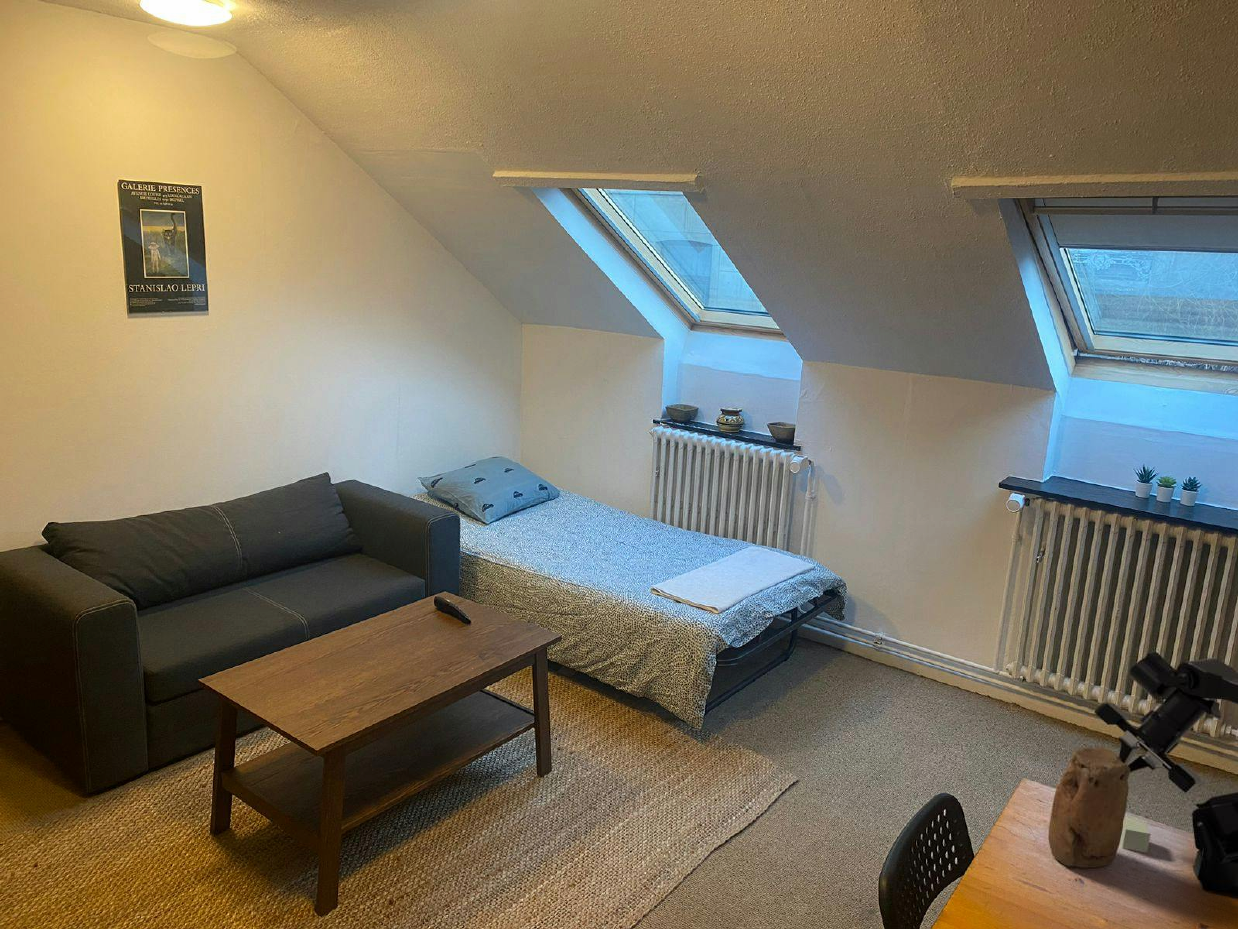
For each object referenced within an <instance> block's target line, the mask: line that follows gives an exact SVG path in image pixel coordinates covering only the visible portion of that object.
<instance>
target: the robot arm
mask: <svg viewBox="0 0 1238 929" xmlns="http://www.w3.org/2000/svg"><path fill="white" fill-rule="evenodd" d="M1129 677H1130V678H1131V679H1132V680H1133V681H1134V682H1136V684H1138V685H1139V686H1140V688H1142V689H1143V690H1144V691H1145V692H1146V693H1147V694H1148V695H1149V696H1151V698H1153V699H1154V700H1163V702H1162V703H1160V705H1158V707H1157V708H1156V709H1155V710H1154V709H1151V710H1150V711H1148V712H1147V713H1146V714H1144V716H1142V717H1141V718H1140V719H1139V722H1140V725H1139V726H1138V728H1136V727H1135V726H1133V724H1131V723H1130V722H1129V719H1130V715H1128V714H1127V712H1125V711H1124V710H1123V709H1122V708H1120V707H1119V706H1118V705H1116V703H1113V702H1111V703H1110V702H1109V703H1108V702H1106V703H1105V702H1103V703H1102V704H1100V705H1099V706H1098V707H1097V708H1096V709H1095V711H1094V714H1095V715H1096V716H1098V718H1100V719H1101V720H1102V721H1103V722H1104V723H1106V725H1107V726H1108V725H1109V726H1117V727H1118V728H1119V729H1120V730H1121V731H1122V732H1123V734H1122V736H1119V737H1118V738H1117V740H1118V741H1119V742H1120V743H1121V744H1120V750H1119V754H1118V756H1119V757H1120V759H1121V761H1122V762H1123V763H1125V764H1127V765H1128V766H1129V768H1130V775H1131V774H1133V773H1135V772H1136V771H1137V772H1138V771H1140V770H1143V769H1145V768H1149V769H1150V770H1152V771H1155V770H1160V769H1161V768H1162V767H1163V768H1165V769H1166V770H1167V771H1168V772H1167V773H1168V774H1167V775H1168V779H1169V780H1170V781H1171V782H1172V783H1173V784H1174V785H1175V786H1177V787H1178V788H1179V789H1180V790H1181V791H1182V792H1184V793H1186V794H1187V793H1189V792H1193V791H1194V790H1195V789H1196V788H1197V787H1198V786H1199V785H1200V784H1201V782H1202V781H1201V777H1200V776H1199V775H1198V774H1197V773H1196V772H1194V770H1192V769H1191V768H1190V767H1189V766H1187V764H1185V763H1184V762H1179V763H1176V762H1175V761H1174V760H1173V759H1171V757H1170V756H1168V755H1169V754H1171V752H1172V751H1173V750H1174V749H1175V748H1177V746H1179V745H1180V744H1181V740H1182V738H1183V736H1185V735H1186V734H1187V732H1189V731H1190V730H1191V729H1192V728H1193V727H1194V725H1196V723H1198V721H1200V720H1201V718H1203V716H1204V715H1206V714H1207V715H1209V716H1211V717H1213V718H1215V719H1218V720H1220V719H1222V714H1221V709H1220V704H1221V703H1220V702H1218V701H1216V700H1223V701H1227V702H1230V703H1233V704H1236V705H1238V672H1237V671H1236V670H1235V669H1234V667H1232V666H1230V665H1228V664H1226V663H1225V662H1223V661H1221V660H1219V659H1217V658H1212V657H1210V658H1203V659H1196V660H1188V661H1182V662H1181V663H1179V664H1178V666H1177V667H1176V669H1175V668H1174V667H1173V666H1172V665H1171V664H1170V663H1169V662H1167V661H1166V660H1165V659H1164V658H1163V656H1162V655H1161V654H1159V652H1157V651H1153V652H1147V654H1146V656H1145V657H1143V658H1141V659H1140V660H1139V661H1138V662H1136V663H1135V664H1134V665H1132V666H1131V668H1130V671H1129ZM1141 749H1143V750H1144V751H1145V752H1146V753H1145V754H1143V755H1139V756H1138V757H1136V758H1135V759H1134V760H1132V759H1133V757H1135V755H1136V754H1138V752H1140V750H1141ZM1131 760H1132V762H1131ZM1195 806H1196V807H1197V808H1195V809H1194V810H1193V811H1192V812H1191V816H1192V818H1191V819H1192V821H1191V822H1192V831H1193V839H1194V846H1195V848H1196V850H1197V852H1196V856H1195V860H1194V864H1193V866H1192V868H1193V873H1194V875H1195V877H1196V879H1197V880H1198V882H1199V883H1200V886H1201V889H1202V890H1204V891H1205V892H1209V893H1214V894H1219V895H1223V896H1229V897H1235V898H1238V791H1236V792H1231V793H1225V794H1221V795H1215V796H1211V797H1210V798H1209V799H1207V800H1206V801H1203V802H1199V803H1195Z"/></svg>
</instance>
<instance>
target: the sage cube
mask: <svg viewBox="0 0 1238 929" xmlns="http://www.w3.org/2000/svg"><path fill="white" fill-rule="evenodd" d="M1150 839H1151V831H1150V829H1149V827H1148V825H1147V822H1146V820H1143V819H1139V818H1138V819H1137V818H1133V817H1127V816H1125V817H1124V820H1123V830H1122V835H1121V839H1120V842H1121V843H1120V846H1121V845H1122V846H1121V848H1122V849H1127V850H1130V849H1131V851H1135V850H1136V852H1141V853H1145V852H1147V853H1148V849H1149V843H1150Z"/></svg>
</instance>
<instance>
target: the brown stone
mask: <svg viewBox="0 0 1238 929" xmlns="http://www.w3.org/2000/svg"><path fill="white" fill-rule="evenodd" d="M1128 765H1129V764H1125V763H1123V762H1122V761H1121V759H1120V757H1119V754H1117V753H1115V752H1114V751H1112V750H1111V749H1109V748H1105V747H1092V748H1091V747H1084V748H1079V749H1077V750H1075V751H1073V752H1072V755H1071V760H1070V763H1069V766H1068V767H1067V768H1066V769H1065V772H1064V773H1063V774H1062V777H1061V778H1060V781H1059V782H1058V784H1057V786H1056V790H1055V793H1054V797H1053V800H1052V806H1051V812H1050V818H1049V825H1048V835H1047V836H1048V843H1049V848H1050V851H1051V852H1050V853H1051V854H1052V856H1053V858H1054V859H1055V860H1056V861H1057V862H1060V863H1061V864H1062V865H1065V866H1067V867H1080V868H1084V869H1085V868H1098V867H1104V866H1107V865H1109V864H1111V863H1113V861H1114V860H1115V859H1116V856H1117V853H1118V849H1119V846H1120V845H1121V843H1120V839H1121V835H1122V830H1123V820H1124V817H1126V811H1127V804H1128V795H1129V790H1130V789H1129V782H1128V780H1129V777H1130V775H1131V774H1130V768H1129V766H1128Z"/></svg>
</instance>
